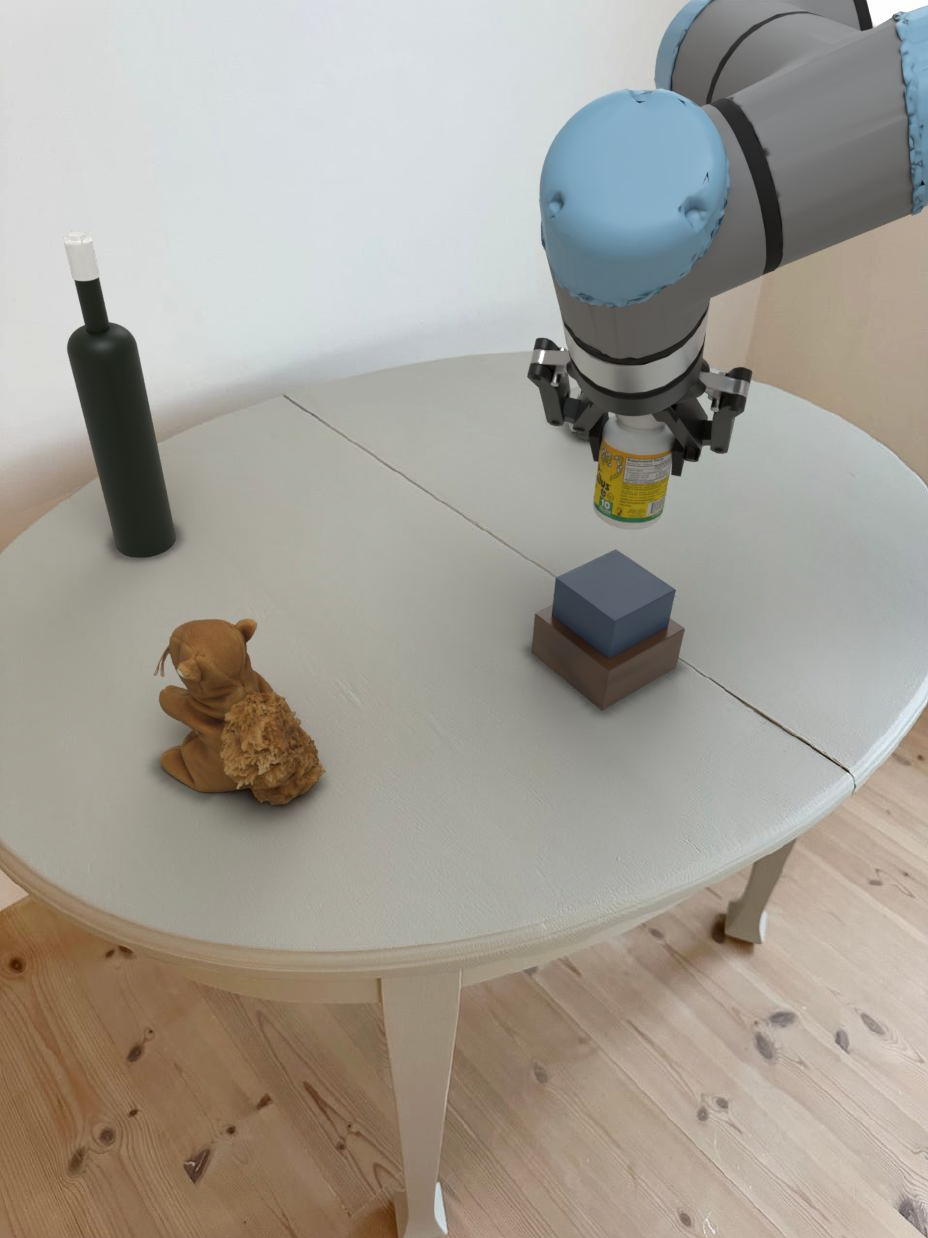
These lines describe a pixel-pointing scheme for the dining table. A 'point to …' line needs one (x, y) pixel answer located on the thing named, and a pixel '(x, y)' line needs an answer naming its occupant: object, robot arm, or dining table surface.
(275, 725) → the stuffed squirrel
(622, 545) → the dining table surface
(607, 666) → the base block
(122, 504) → the wine bottle
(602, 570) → the top block
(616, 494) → the supplement bottle
